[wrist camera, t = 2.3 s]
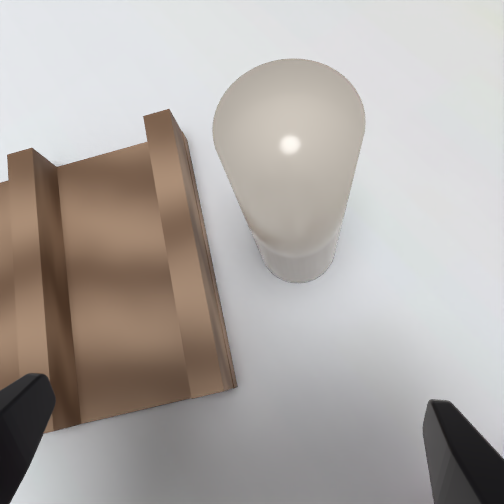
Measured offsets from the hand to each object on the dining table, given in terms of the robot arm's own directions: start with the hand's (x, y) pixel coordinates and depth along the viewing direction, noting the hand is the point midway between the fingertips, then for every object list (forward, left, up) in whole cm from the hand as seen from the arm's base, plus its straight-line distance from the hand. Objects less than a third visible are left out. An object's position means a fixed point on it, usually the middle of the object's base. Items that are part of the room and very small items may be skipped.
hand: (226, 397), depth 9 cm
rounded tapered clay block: (+4, -7, -13) cm, 16 cm away
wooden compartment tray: (+13, +4, -13) cm, 19 cm away
